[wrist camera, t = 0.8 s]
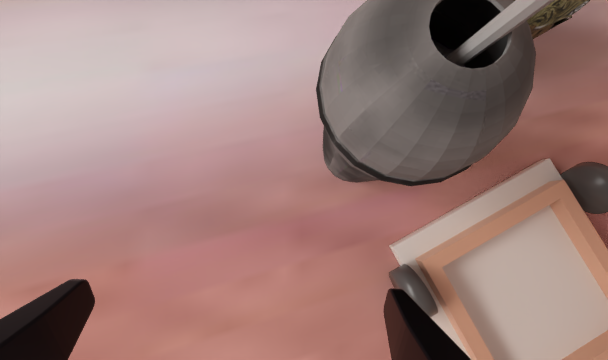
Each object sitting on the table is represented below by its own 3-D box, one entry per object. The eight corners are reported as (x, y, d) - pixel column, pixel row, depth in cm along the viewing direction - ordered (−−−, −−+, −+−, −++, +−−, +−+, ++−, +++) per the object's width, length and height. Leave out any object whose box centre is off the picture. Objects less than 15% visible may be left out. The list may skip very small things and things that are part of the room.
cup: (404, 5, 24) (458, -96, 16) (490, -2, 25) (583, -104, 17) (417, 91, 23) (480, 28, 16) (506, 83, 24) (612, 18, 16)
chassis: (661, 326, 22) (733, 348, 18) (480, 444, 21) (518, 492, 17) (553, 153, 23) (599, 142, 20) (375, 253, 22) (391, 261, 18)
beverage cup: (306, 106, 23) (380, -559, 3) (398, 109, 23) (1003, -497, 3) (304, 198, 22) (380, 73, 2) (399, 201, 22) (1206, 109, 3)
